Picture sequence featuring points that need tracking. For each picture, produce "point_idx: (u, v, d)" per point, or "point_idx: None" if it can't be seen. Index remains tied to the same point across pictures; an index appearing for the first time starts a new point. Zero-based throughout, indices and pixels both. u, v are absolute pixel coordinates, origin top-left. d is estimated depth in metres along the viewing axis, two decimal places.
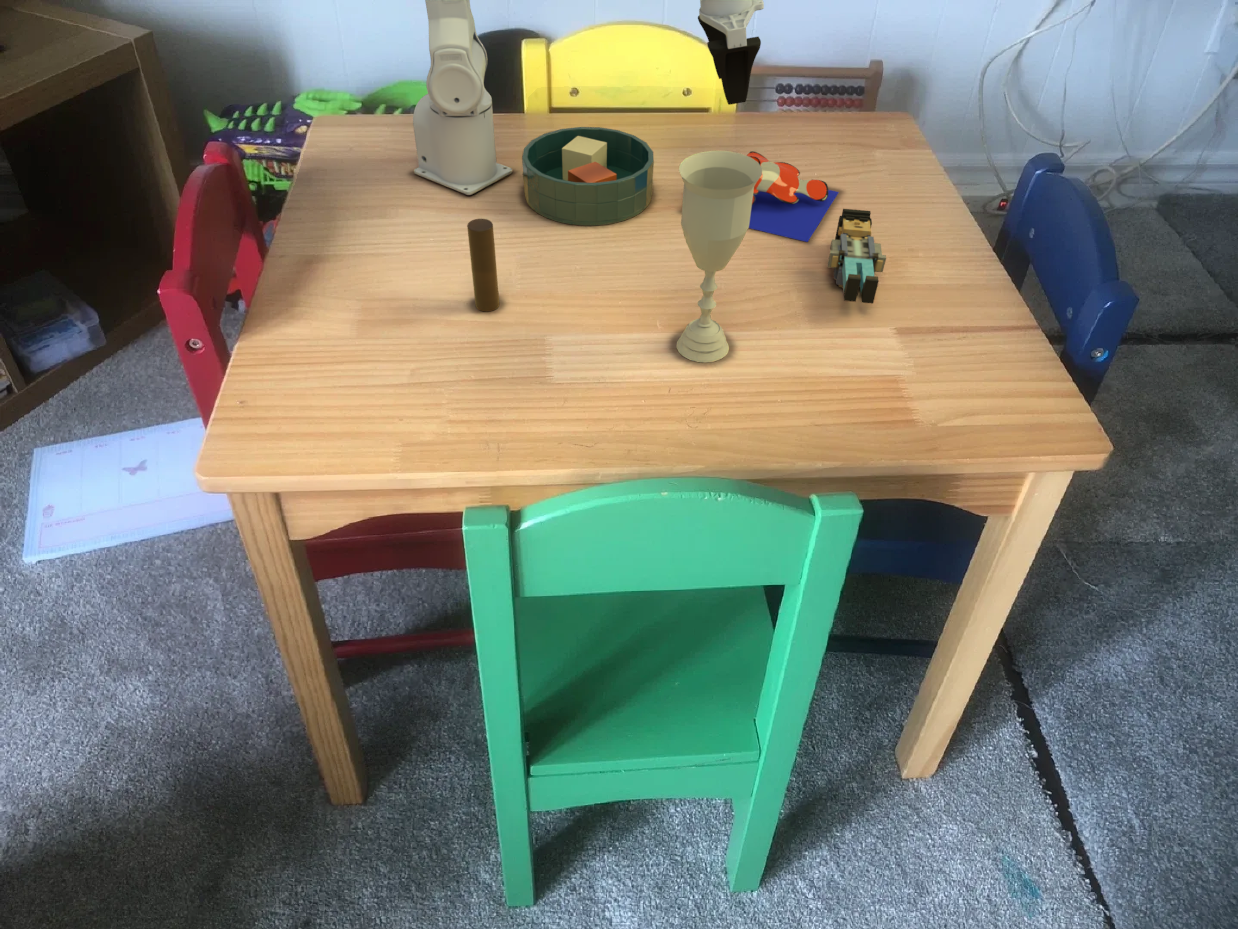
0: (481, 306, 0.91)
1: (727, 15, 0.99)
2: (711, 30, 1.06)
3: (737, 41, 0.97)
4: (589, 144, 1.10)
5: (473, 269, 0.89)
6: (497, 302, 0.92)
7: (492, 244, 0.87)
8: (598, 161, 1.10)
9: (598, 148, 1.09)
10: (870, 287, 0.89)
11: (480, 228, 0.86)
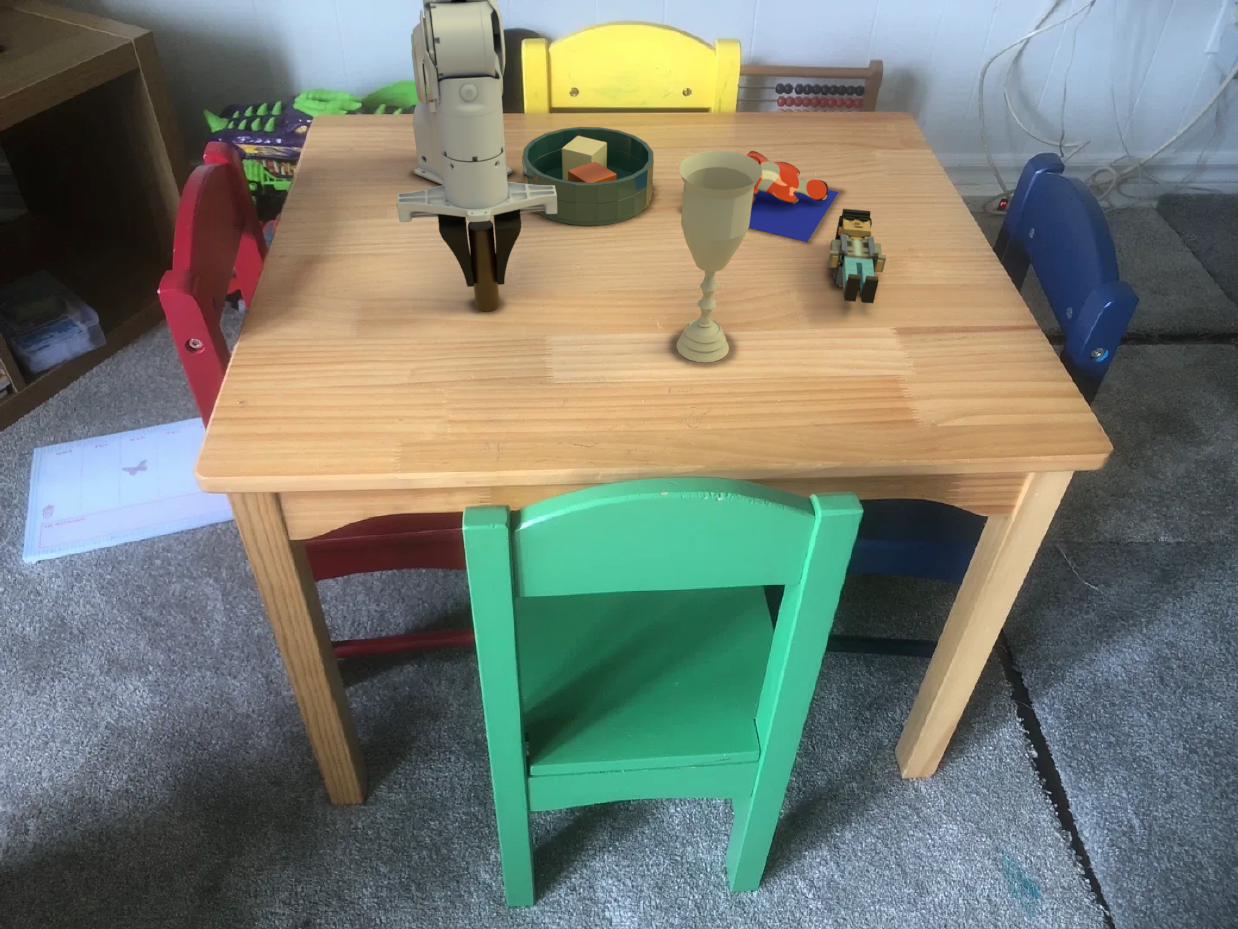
0: (482, 306, 0.91)
1: (444, 193, 0.84)
2: None
3: None
4: (589, 144, 1.10)
5: (473, 269, 0.89)
6: (497, 302, 0.92)
7: (492, 244, 0.87)
8: (598, 161, 1.10)
9: (598, 148, 1.09)
10: (870, 287, 0.89)
11: (480, 228, 0.86)
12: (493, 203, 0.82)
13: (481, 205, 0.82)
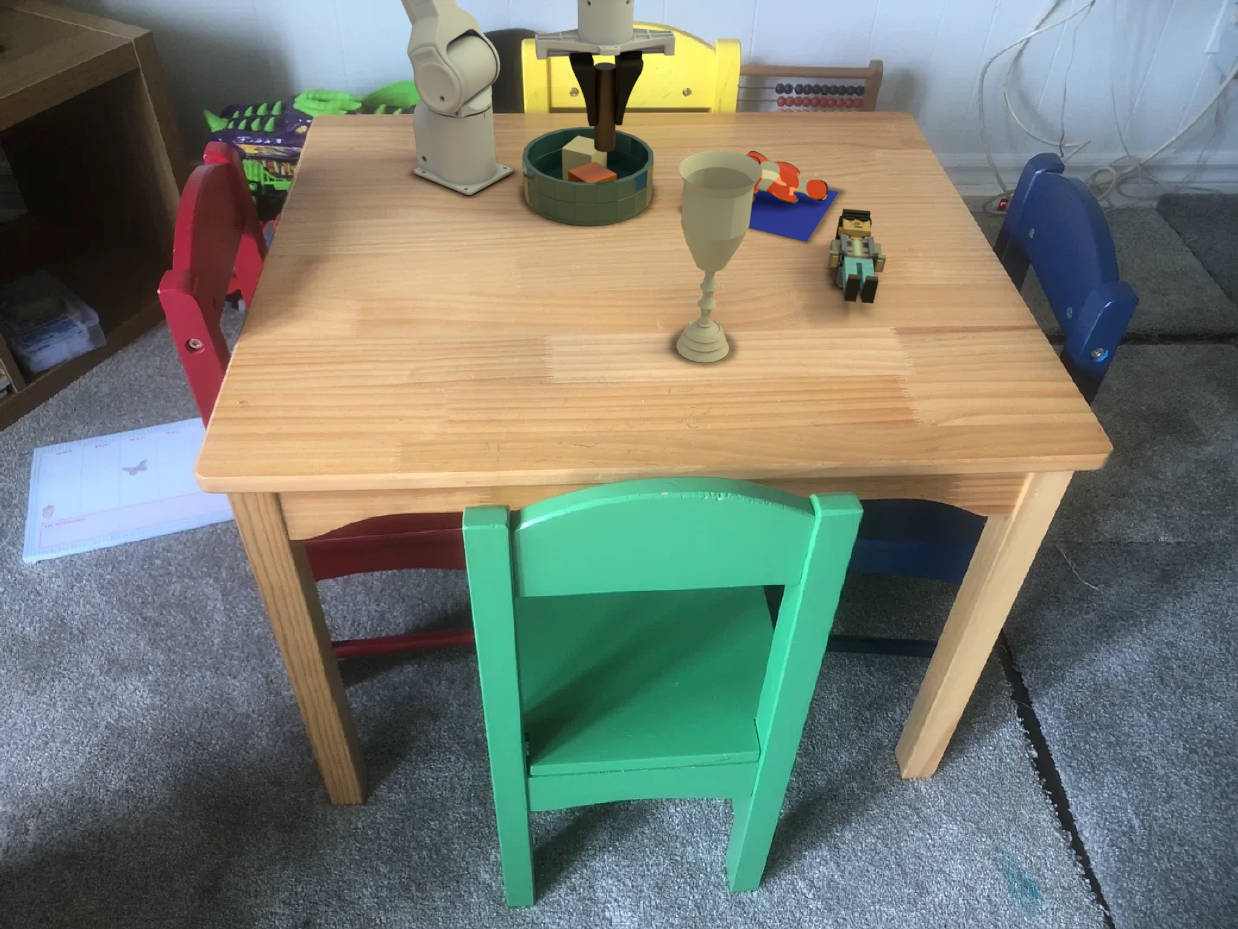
0: (600, 147, 1.02)
1: (576, 34, 0.95)
2: (615, 64, 0.99)
3: None
4: (589, 144, 1.10)
5: (596, 109, 1.00)
6: (614, 144, 1.02)
7: (615, 85, 0.98)
8: (598, 161, 1.10)
9: None
10: (870, 287, 0.89)
11: (606, 68, 0.97)
12: (622, 40, 0.93)
13: (611, 41, 0.93)
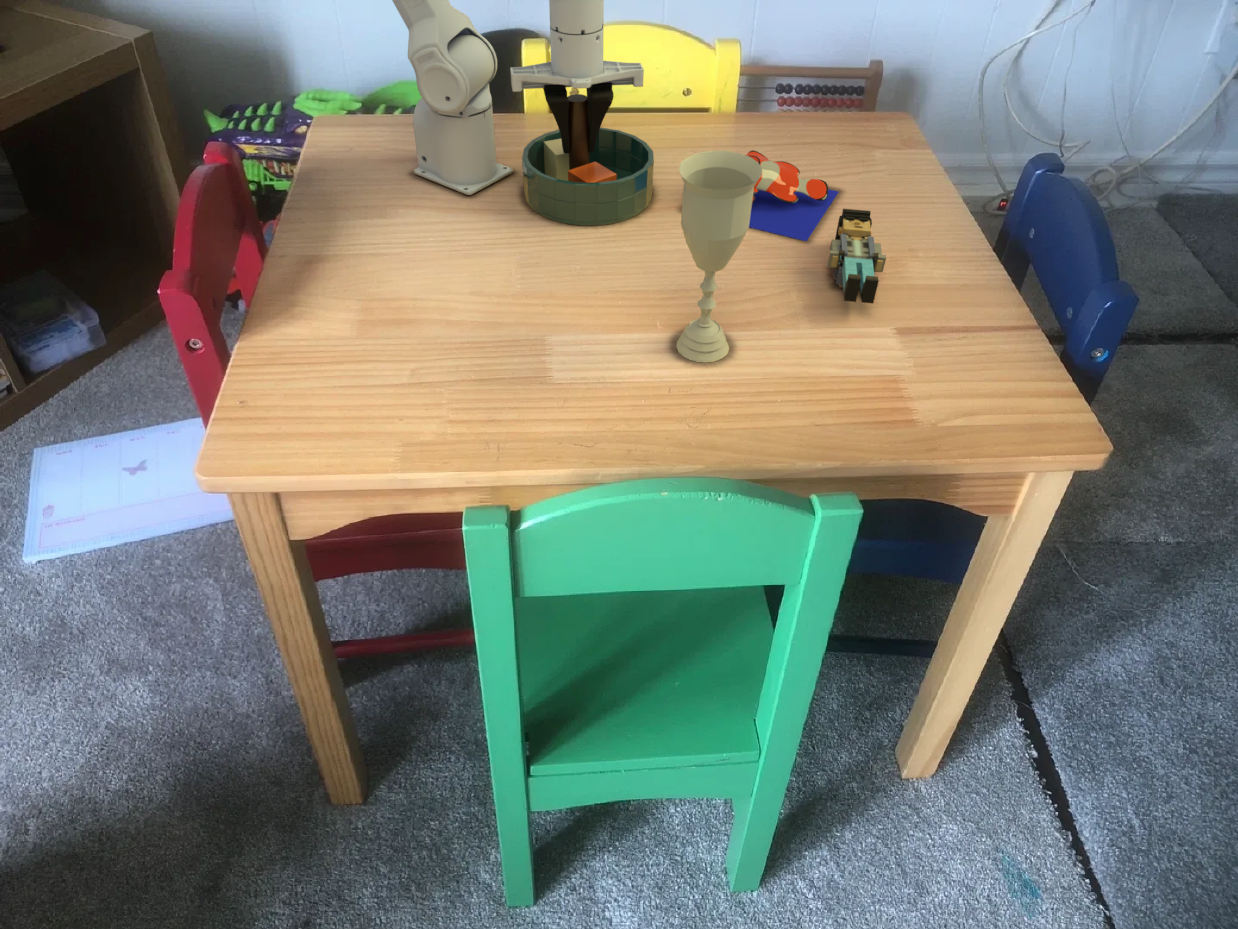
0: None
1: (550, 67, 1.00)
2: (587, 94, 1.04)
3: (511, 82, 1.00)
4: None
5: (572, 140, 1.04)
6: None
7: None
8: None
9: None
10: (870, 287, 0.89)
11: (579, 100, 1.02)
12: (592, 73, 0.98)
13: (583, 75, 0.98)
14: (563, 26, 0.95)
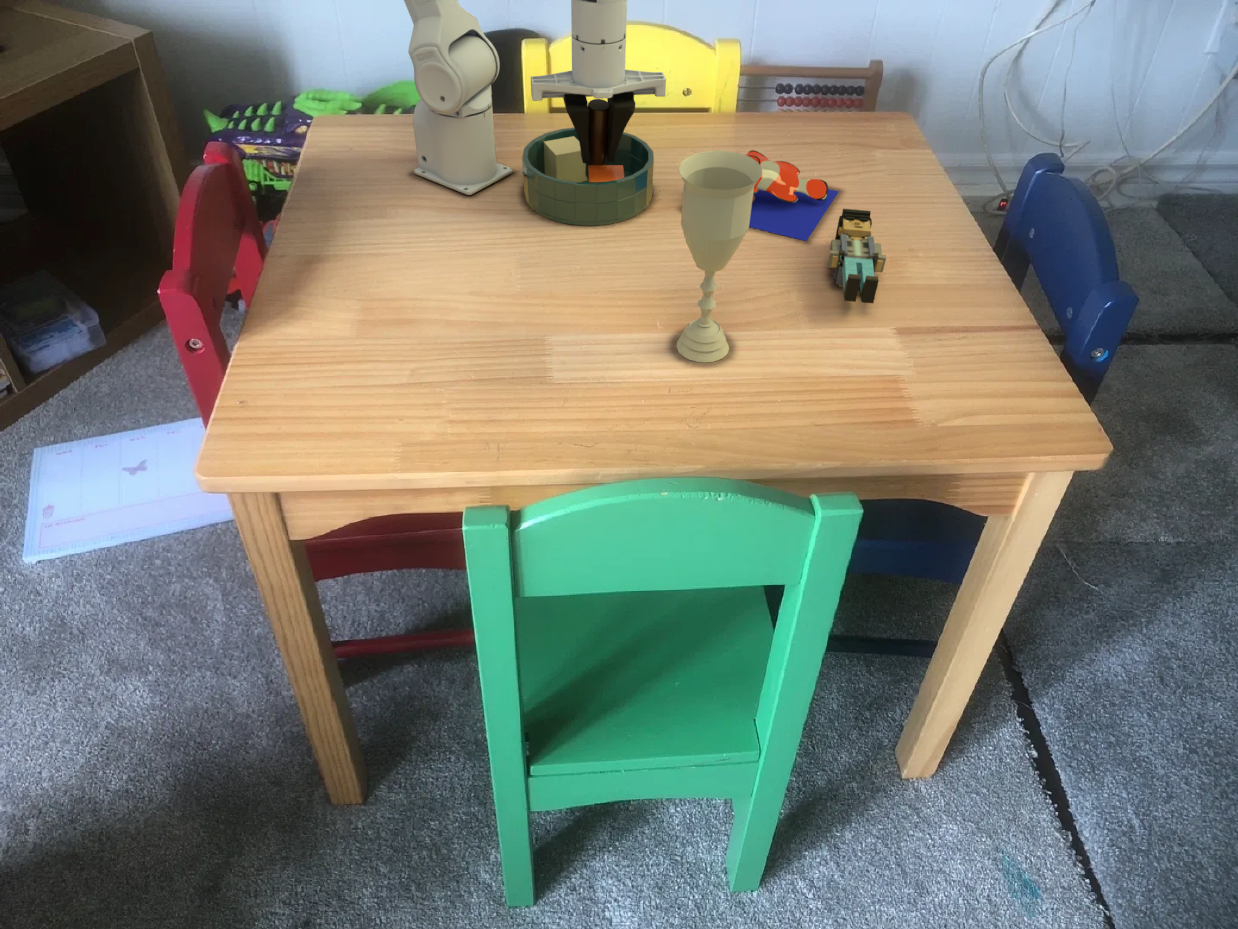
0: None
1: (571, 77, 0.98)
2: None
3: (531, 91, 0.99)
4: (570, 145, 1.09)
5: (595, 146, 1.04)
6: None
7: None
8: (570, 164, 1.09)
9: (571, 151, 1.08)
10: (870, 287, 0.89)
11: (604, 106, 1.01)
12: (614, 83, 0.97)
13: (604, 84, 0.96)
14: (583, 35, 0.93)
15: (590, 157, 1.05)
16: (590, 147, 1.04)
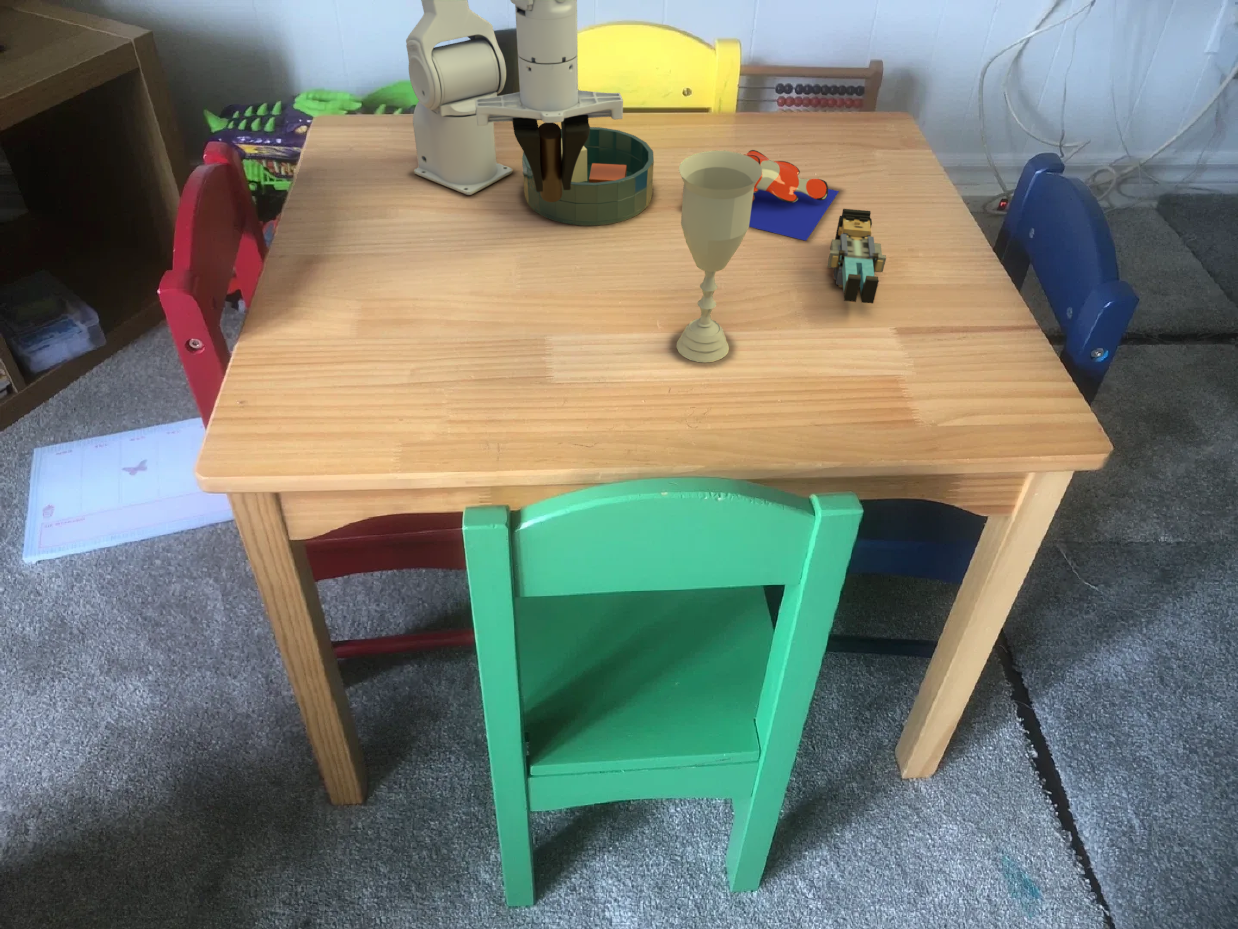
0: (554, 198, 0.99)
1: (519, 99, 0.90)
2: (561, 127, 0.94)
3: None
4: None
5: (548, 171, 0.95)
6: None
7: None
8: None
9: None
10: (871, 287, 0.89)
11: (554, 133, 0.92)
12: (566, 106, 0.89)
13: (555, 107, 0.88)
14: (519, 49, 0.86)
15: (543, 180, 0.97)
16: (542, 171, 0.96)
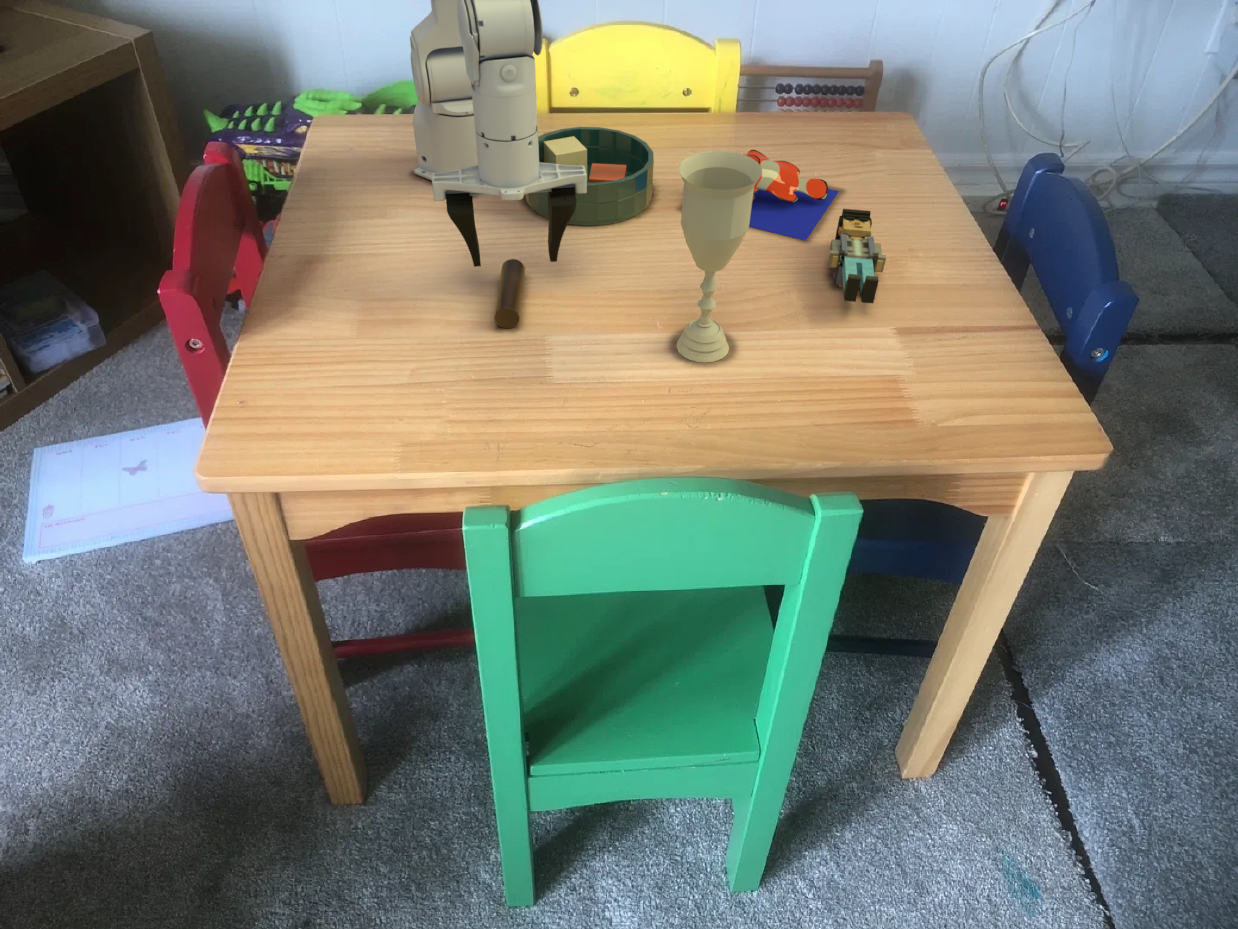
0: None
1: (478, 173, 0.86)
2: (548, 198, 0.91)
3: None
4: (570, 145, 1.09)
5: None
6: (523, 268, 0.94)
7: (519, 303, 0.90)
8: (570, 164, 1.09)
9: (571, 151, 1.08)
10: (870, 287, 0.89)
11: (513, 321, 0.89)
12: (526, 182, 0.85)
13: (514, 184, 0.84)
14: (474, 121, 0.83)
15: None
16: None
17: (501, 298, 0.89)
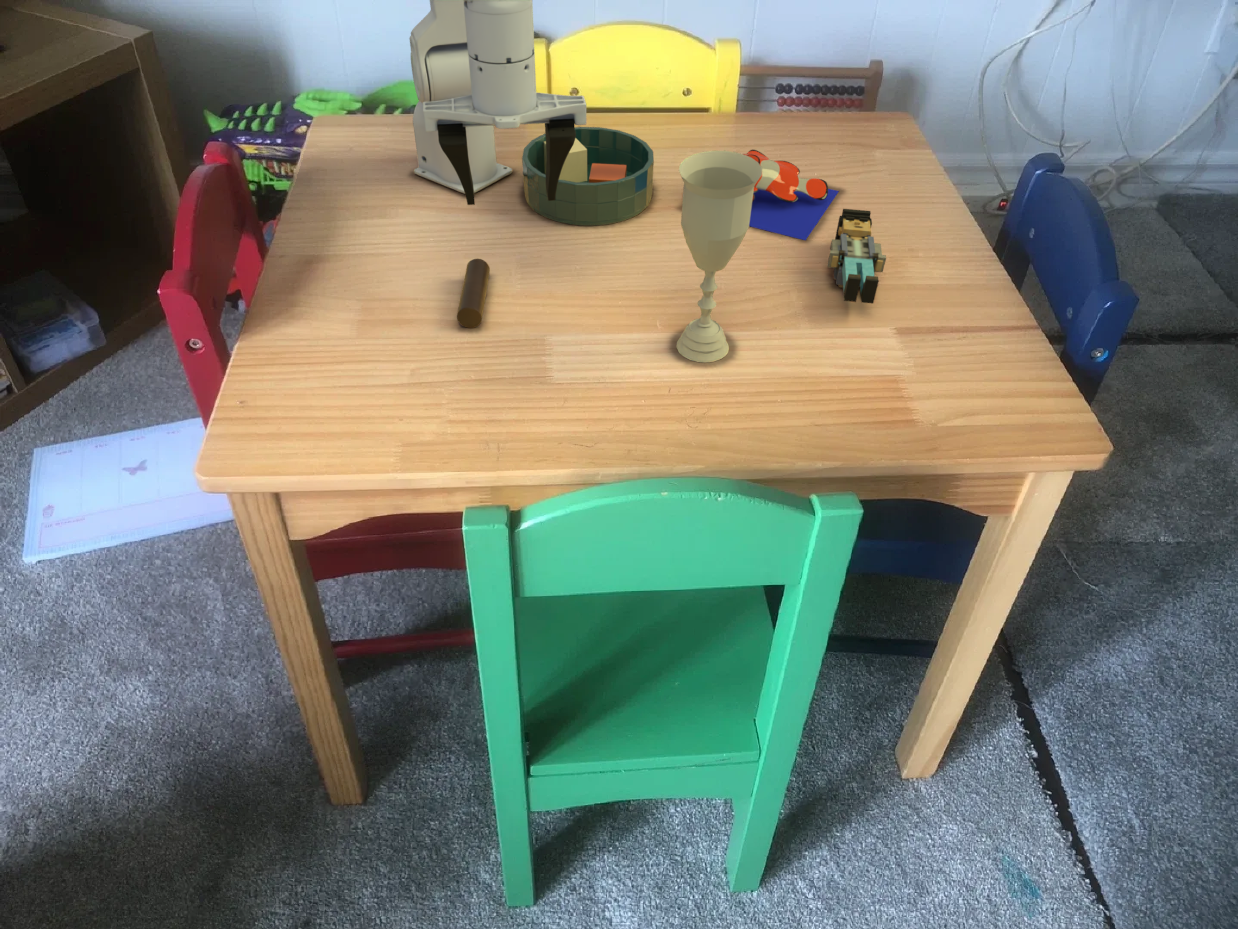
0: (472, 261, 0.94)
1: (471, 102, 0.82)
2: (545, 132, 0.86)
3: None
4: None
5: (474, 282, 0.91)
6: None
7: None
8: (570, 164, 1.09)
9: (571, 151, 1.08)
10: (871, 287, 0.89)
11: (463, 314, 0.88)
12: (522, 110, 0.80)
13: (510, 112, 0.80)
14: (467, 43, 0.78)
15: (482, 275, 0.92)
16: (481, 283, 0.92)
17: None
